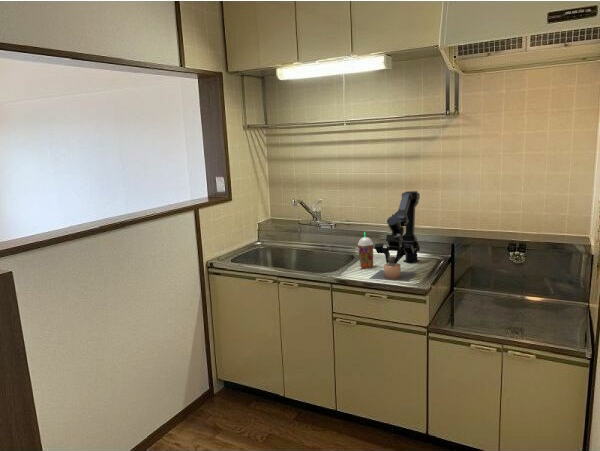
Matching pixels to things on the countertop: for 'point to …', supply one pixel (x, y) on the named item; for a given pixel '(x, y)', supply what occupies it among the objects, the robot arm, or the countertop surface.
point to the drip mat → (404, 277)
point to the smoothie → (365, 252)
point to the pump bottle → (392, 271)
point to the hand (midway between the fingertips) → (391, 263)
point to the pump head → (391, 259)
